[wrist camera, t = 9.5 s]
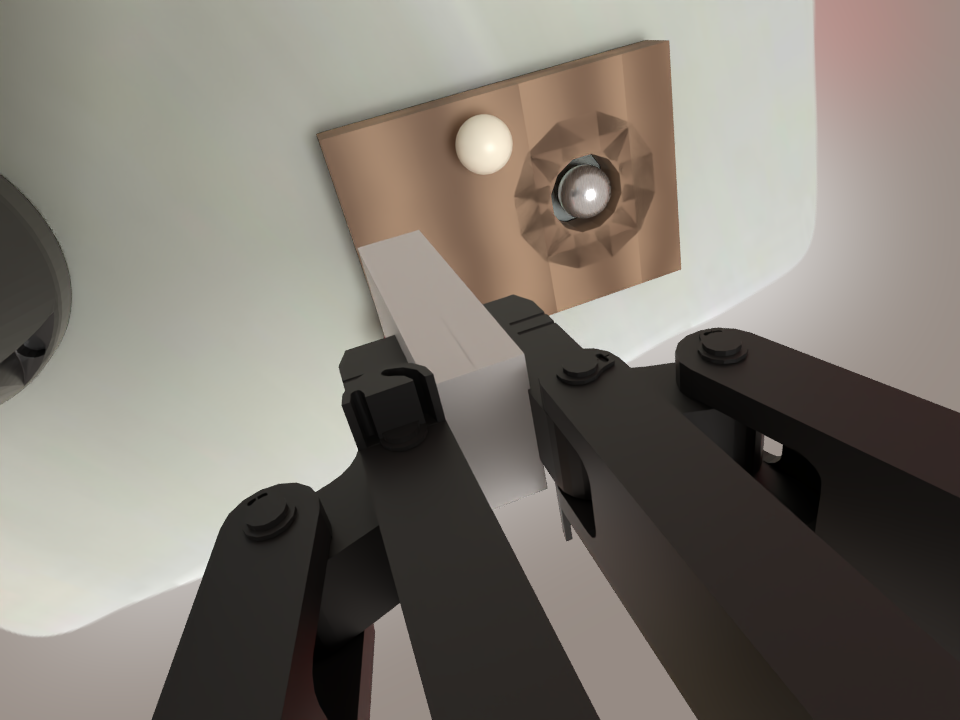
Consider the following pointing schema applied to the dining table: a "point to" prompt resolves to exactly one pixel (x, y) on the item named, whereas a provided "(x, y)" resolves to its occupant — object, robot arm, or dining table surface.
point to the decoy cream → (484, 144)
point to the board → (527, 179)
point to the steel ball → (584, 191)
